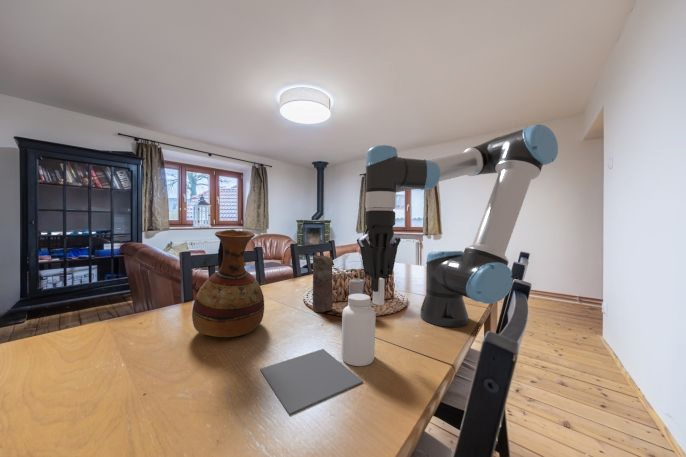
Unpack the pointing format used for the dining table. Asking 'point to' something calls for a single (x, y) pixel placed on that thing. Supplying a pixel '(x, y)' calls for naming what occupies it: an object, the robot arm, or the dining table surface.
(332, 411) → the dining table surface
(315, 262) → the candle
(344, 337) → the pill bottle
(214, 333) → the ceramic pitcher
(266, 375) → the mat
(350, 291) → the energy drink
